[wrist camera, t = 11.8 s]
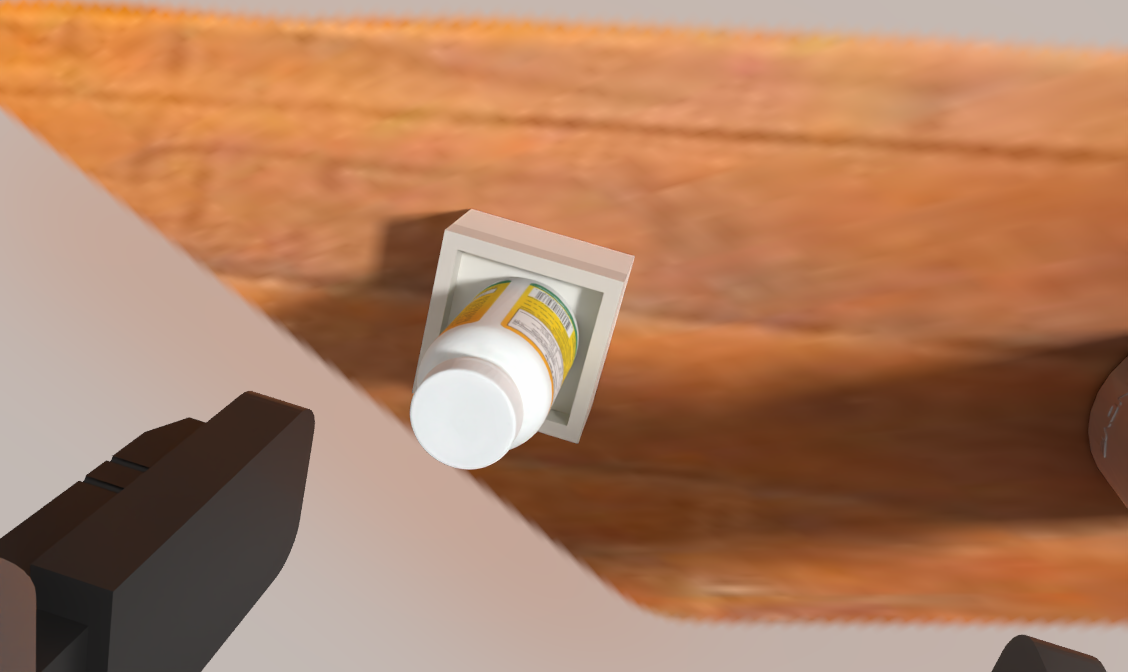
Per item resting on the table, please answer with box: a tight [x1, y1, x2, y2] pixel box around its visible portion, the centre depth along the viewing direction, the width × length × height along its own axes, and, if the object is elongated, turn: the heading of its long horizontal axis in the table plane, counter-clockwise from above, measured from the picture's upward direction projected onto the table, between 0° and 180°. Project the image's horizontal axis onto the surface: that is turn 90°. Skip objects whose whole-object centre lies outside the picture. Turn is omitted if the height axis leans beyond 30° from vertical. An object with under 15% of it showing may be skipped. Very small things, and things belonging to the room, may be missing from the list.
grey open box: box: [412, 209, 635, 444], centre depth 43 cm, size 8×8×4 cm
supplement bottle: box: [410, 278, 579, 469], centre depth 38 cm, size 5×5×10 cm
